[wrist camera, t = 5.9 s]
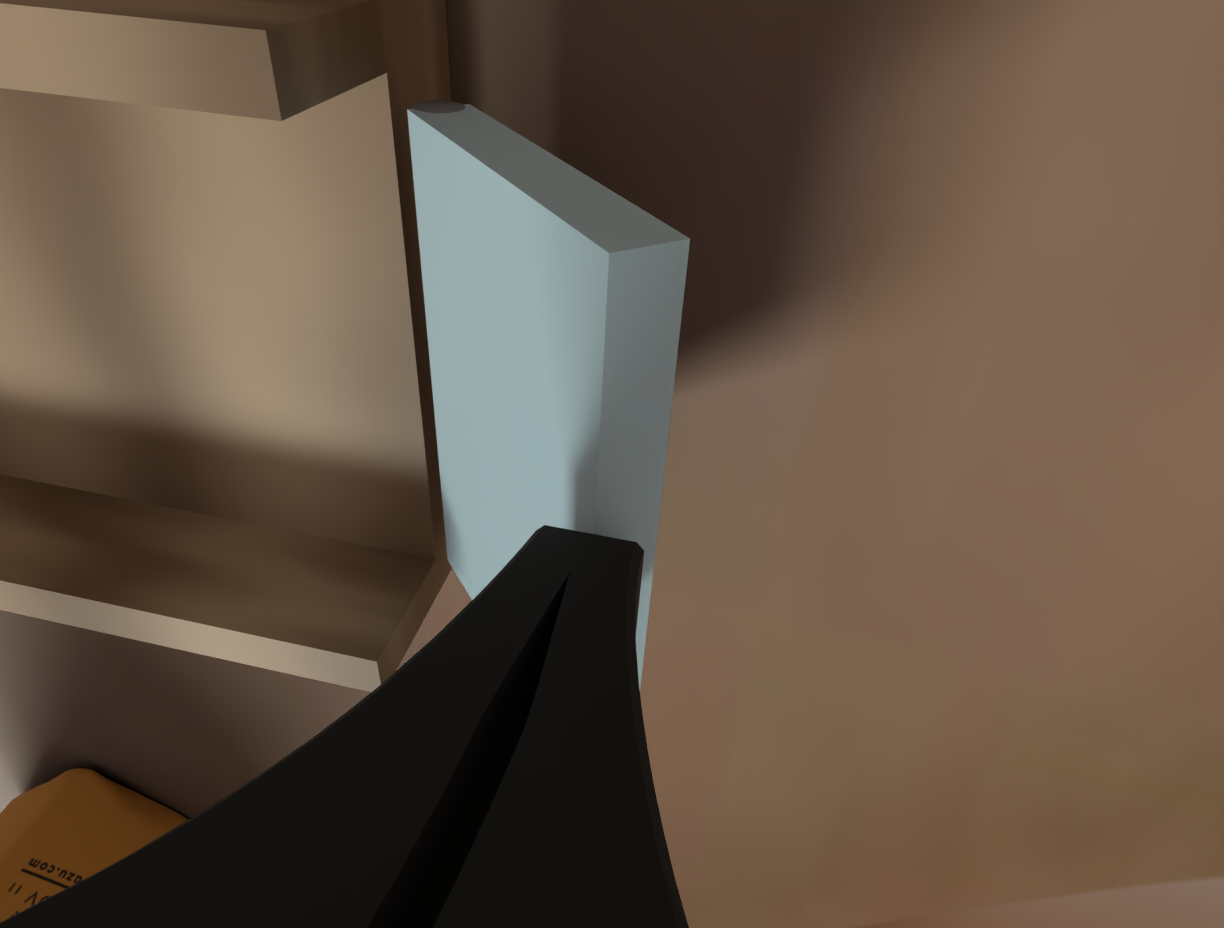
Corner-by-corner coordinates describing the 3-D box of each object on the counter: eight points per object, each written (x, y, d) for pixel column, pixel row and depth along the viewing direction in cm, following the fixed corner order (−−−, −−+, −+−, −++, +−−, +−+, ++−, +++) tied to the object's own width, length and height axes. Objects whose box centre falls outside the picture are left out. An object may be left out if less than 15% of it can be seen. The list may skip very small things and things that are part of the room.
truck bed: (-4, 433, 23) (-200, 565, 19) (-246, -83, 16) (-655, -64, 12) (476, 523, 21) (382, 694, 17) (443, -21, 14) (266, 29, 10)
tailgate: (440, 548, 18) (582, 779, 14) (398, 102, 13) (609, 252, 8) (483, 534, 19) (632, 754, 14) (459, 97, 13) (691, 238, 9)
